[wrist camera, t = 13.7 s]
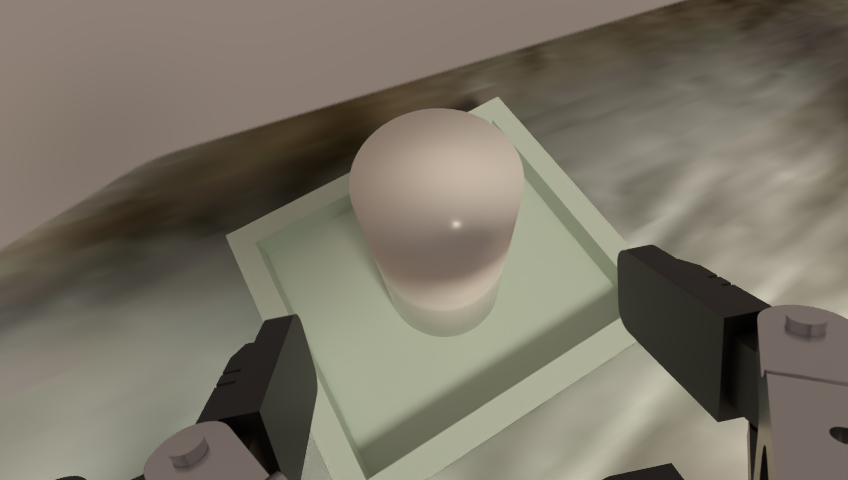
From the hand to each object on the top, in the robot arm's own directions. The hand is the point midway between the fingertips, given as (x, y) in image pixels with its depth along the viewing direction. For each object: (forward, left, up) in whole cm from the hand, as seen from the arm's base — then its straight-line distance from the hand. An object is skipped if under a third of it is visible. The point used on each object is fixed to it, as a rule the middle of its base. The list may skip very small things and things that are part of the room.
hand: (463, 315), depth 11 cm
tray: (+2, +5, -12) cm, 13 cm away
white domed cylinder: (+2, +5, -11) cm, 12 cm away
